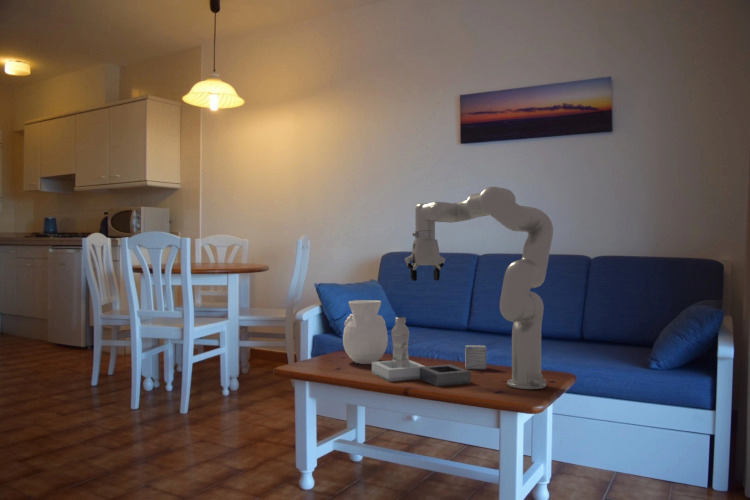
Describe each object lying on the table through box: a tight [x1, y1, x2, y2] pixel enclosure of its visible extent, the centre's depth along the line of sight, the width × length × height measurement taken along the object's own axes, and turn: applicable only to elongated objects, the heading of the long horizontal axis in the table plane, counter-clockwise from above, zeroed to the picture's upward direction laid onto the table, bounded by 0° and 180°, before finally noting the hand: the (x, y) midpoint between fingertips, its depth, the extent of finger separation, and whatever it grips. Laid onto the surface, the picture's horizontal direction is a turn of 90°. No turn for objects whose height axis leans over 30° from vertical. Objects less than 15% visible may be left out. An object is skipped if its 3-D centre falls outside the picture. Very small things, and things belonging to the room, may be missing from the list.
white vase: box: [342, 299, 389, 365], centre depth 237 cm, size 19×18×25 cm
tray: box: [371, 359, 425, 382], centre depth 211 cm, size 16×15×4 cm
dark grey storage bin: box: [419, 363, 472, 387], centre depth 202 cm, size 14×13×4 cm
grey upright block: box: [464, 344, 487, 370], centre depth 224 cm, size 8×4×9 cm, turn 84°
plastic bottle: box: [391, 316, 410, 368], centre depth 211 cm, size 6×7×20 cm
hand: (425, 280), depth 223 cm, fingers open, 9 cm apart
